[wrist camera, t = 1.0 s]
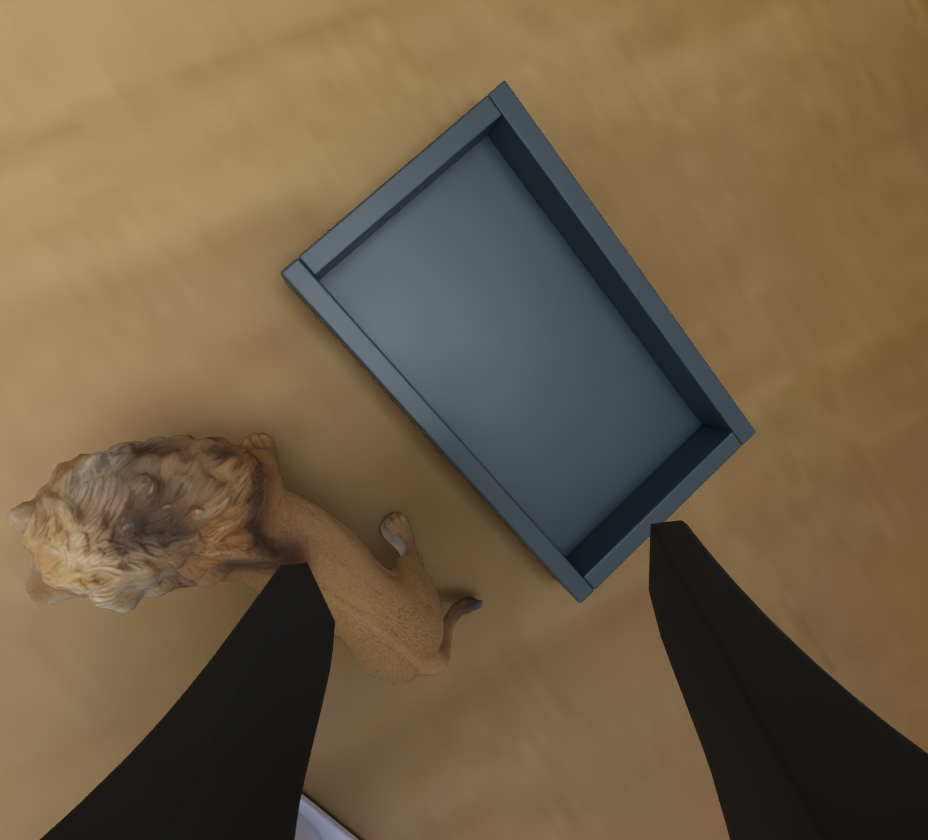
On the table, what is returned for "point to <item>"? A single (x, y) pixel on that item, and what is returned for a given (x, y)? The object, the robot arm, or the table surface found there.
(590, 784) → the table surface
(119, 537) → the lion figurine
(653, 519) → the tray
